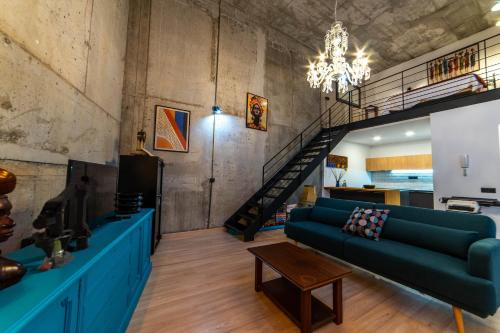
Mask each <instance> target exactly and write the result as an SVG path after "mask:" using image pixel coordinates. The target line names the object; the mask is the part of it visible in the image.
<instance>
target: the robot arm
mask: <svg viewBox="0 0 500 333" xmlns="http://www.w3.org/2000/svg"><path fill="white" fill-rule="evenodd" d="M91 191H92V187H91V186H90V185H89V184H80V183H77V182H76V183H68V185H67V187H65V188H64V189H63V190H62V191H61V192H60V193H59V194H58V195H56V196H55V197H52V198H50V199H48V200H46V202H45V203H44V204H43V206H42V208H41V210H40V211H39V214H38V215H37V217H36V218H35V219H34V220H33V221H32V223H31V225H32V228H33V229H35V230H37V232H36V231H35V232H33V233H32V235H31V239H32V240H34V241H35V242H34V243H33V245H34V246H33V247H34V248H37V249H41V250H42V251H43V252H44V253H45V255H46V257H48V258H51V257H52V253H53V250H54V246H55V244H54V242H55V240H56V239H59V240H60V242H61V249H63V250H64V251H66V249H67V247H68V245H69V243H70V241H71V240H72V241H75V248H76V249H75V248H74V249H73V251H78V250H86V249H87V248H89V247H91V246H92V244H89V238H92V236H93V231H91V230H90V229H89V228H90V227H89V224H88V223H87V222H86V220H87V218H86V217H87V202H88V201H87V200H88V198H89V197H90V195H91ZM72 196H74V197H75V199H76V202H75V203H76V206H75V218H74V219H75V221H74V224H73V225H71V226H70V229H65V230H64V227H66V224H64V214H65V213H66V212H65V211H64V209H65V208H66V206H67V205H68V203H67V202H68V200H69V199H71V197H72ZM43 229H44V231H41V232H40V230H43Z"/></svg>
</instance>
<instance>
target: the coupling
mask: <svg viewBox="0 0 500 333" xmlns="http://www.w3.org/2000/svg"><path fill="white" fill-rule="evenodd" d="M63 252H65V250H63V249H59V250H55V251H53V253H52V257H51V258H55V257H58V256H62V255H63Z"/></svg>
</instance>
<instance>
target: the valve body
mask: <svg viewBox="0 0 500 333" xmlns="http://www.w3.org/2000/svg"><path fill="white" fill-rule="evenodd" d="M43 259H44V262H43V263H42V264H40V265H39V266H37V271H39V270H41V271H42V272H46V271H50V270H51V269H53V268H54V269H56V268H61V267H63V266H64V265H66V264H68V263H70V262H72V261H73V260H74V259H75V255H71V252H70V251H64V252H63V255H62V256H58V257H55V258H48V257H47V256H45V257H44V258H43Z"/></svg>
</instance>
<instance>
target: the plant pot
mask: <svg viewBox="0 0 500 333" xmlns="http://www.w3.org/2000/svg"><path fill="white" fill-rule="evenodd" d="M54 244H55V246H54V250H53V251H55V250H59V249H61V242H60V240H59V239H56V240H55V242H54Z"/></svg>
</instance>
